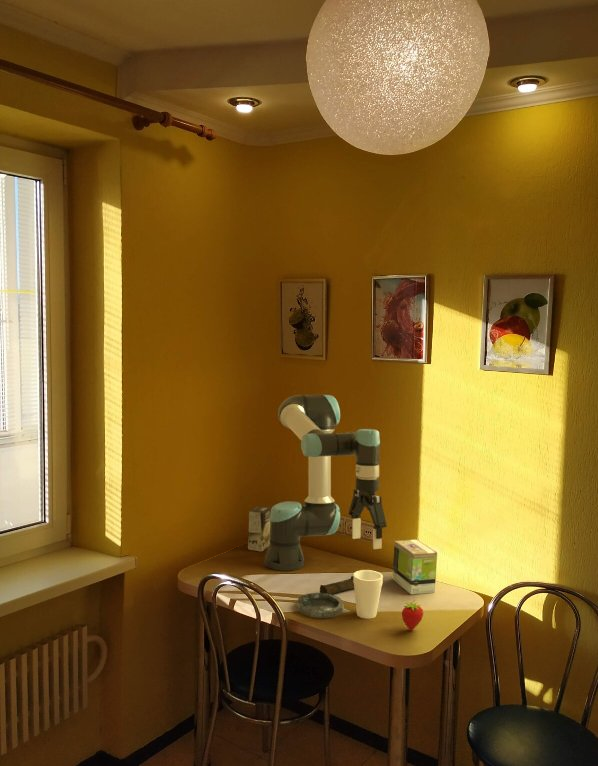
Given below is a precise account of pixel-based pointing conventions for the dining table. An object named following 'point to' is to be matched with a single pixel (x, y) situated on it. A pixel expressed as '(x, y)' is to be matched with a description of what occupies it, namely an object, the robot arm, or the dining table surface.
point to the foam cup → (367, 592)
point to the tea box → (414, 566)
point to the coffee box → (259, 528)
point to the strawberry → (412, 615)
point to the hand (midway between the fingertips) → (366, 543)
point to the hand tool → (337, 586)
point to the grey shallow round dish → (320, 605)
